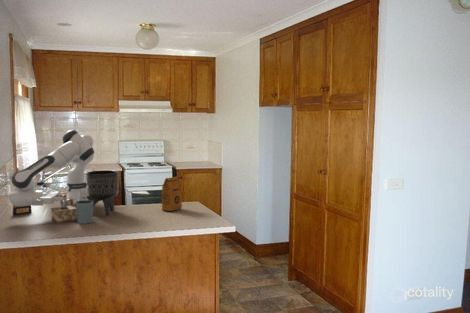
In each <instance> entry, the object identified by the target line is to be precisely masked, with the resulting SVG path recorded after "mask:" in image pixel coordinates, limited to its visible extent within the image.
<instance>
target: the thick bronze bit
mask: <svg viewBox="0 0 470 313" xmlns="http://www.w3.org/2000/svg"><path fill="white" fill-rule="evenodd" d="M66 199H67V198H66ZM67 206H72V207H75V204H74V201H73V199H71V198H69V199H67Z"/></svg>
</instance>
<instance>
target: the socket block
mask: <svg viewBox="0 0 470 313" xmlns="http://www.w3.org/2000/svg"><path fill="white" fill-rule="evenodd" d="M50 209H51V220H52V221H54V222H56V223H58V224H61V223H66V222H73V221H77V212H76V206H74V207H72V206H67V209H61V206H57V207H51V208H50Z"/></svg>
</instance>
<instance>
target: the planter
mask: <svg viewBox="0 0 470 313" xmlns="http://www.w3.org/2000/svg"><path fill="white" fill-rule="evenodd" d="M85 175H86V183H87V191H88V200H92V201H93V210H94V208H95V206H96V204H97V203H98V202H100V201H101V202H102V203H103V206H104V214H105V215H104V216H106V217H109V216H110V212H114V211H115V197H117V195H118V194H119V176H120V175H119V171H117V170H111V169H109V170H93V171H87V172H86V174H85Z"/></svg>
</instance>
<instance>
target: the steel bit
mask: <svg viewBox="0 0 470 313" xmlns="http://www.w3.org/2000/svg"><path fill="white" fill-rule="evenodd" d="M61 194H62V195H60V197H63V200H62V201H60V207H61V209H67V197H66V195H67V194H66V193H65V194H64V193H61Z"/></svg>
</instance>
